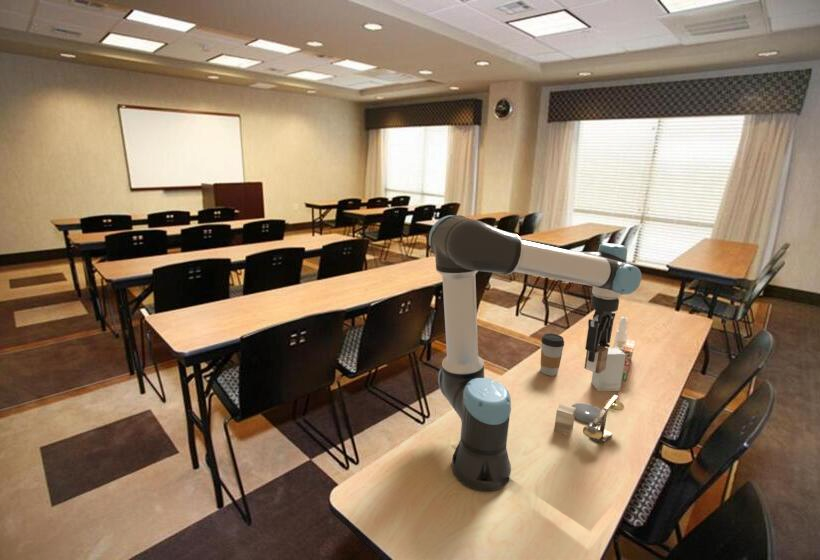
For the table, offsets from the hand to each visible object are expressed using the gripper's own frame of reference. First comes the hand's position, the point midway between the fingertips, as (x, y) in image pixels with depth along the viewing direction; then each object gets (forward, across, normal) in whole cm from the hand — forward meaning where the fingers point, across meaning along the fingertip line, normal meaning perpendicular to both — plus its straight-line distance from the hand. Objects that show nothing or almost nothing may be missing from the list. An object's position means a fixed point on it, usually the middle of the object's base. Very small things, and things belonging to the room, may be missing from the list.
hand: (594, 367), depth 126 cm
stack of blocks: (+17, +43, +7) cm, 47 cm away
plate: (+17, 0, 0) cm, 17 cm away
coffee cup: (+17, +17, +23) cm, 33 cm away
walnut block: (0, 0, 0) cm, 0 cm away
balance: (+17, -8, -8) cm, 20 cm away
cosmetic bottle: (+17, +42, +8) cm, 46 cm away
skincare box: (+17, +23, +4) cm, 29 cm away
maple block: (+17, -13, +1) cm, 21 cm away
